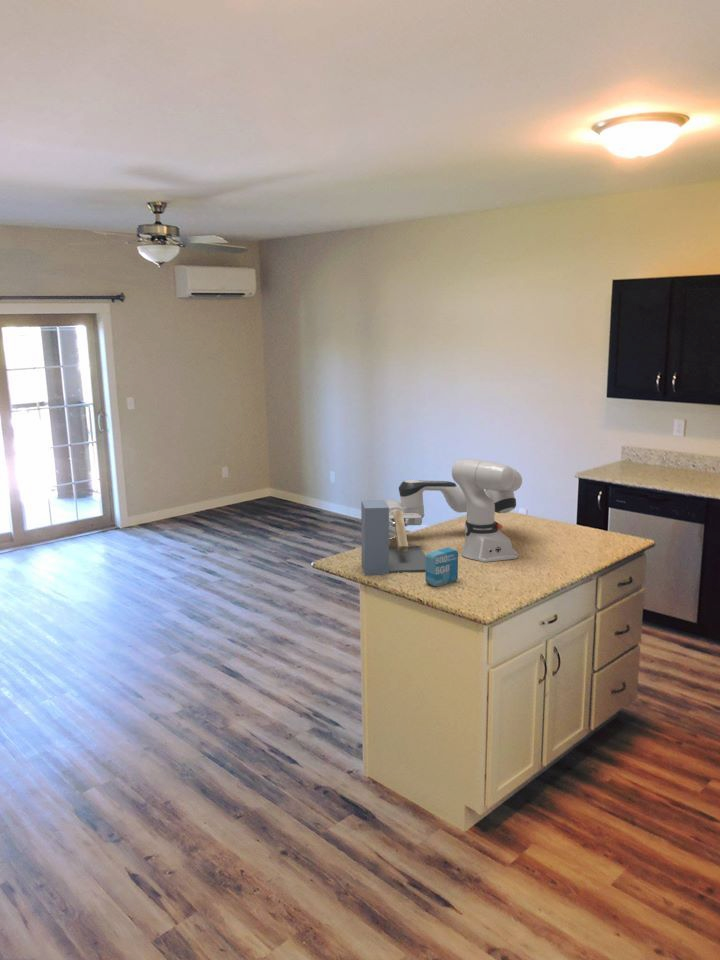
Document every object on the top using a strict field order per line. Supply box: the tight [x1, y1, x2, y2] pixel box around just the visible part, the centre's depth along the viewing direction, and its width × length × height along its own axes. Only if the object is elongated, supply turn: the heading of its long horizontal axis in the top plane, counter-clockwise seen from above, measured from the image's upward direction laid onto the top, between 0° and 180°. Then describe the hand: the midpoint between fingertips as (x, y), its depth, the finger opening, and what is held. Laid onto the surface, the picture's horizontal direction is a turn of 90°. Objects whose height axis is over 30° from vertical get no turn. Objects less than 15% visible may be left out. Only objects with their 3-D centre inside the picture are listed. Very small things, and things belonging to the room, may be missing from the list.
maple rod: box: [393, 511, 409, 553], centre depth 300 cm, size 4×20×4 cm
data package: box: [424, 547, 459, 587], centre depth 272 cm, size 12×4×12 cm, turn 126°
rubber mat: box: [389, 545, 426, 574], centre depth 299 cm, size 17×30×1 cm, turn 6°
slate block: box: [360, 499, 390, 577], centre depth 284 cm, size 9×12×26 cm
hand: (399, 524), depth 302 cm, fingers closed on maple rod, 3 cm apart
